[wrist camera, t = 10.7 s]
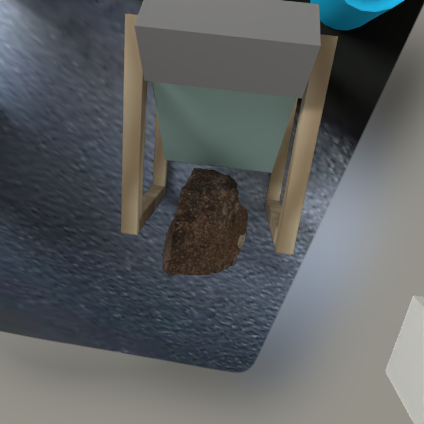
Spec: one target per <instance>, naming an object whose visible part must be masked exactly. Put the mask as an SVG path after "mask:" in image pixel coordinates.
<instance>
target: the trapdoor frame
mask: <svg viewBox="0 0 424 424" xmlns="http://www.w3.org/2000/svg"><path fill="white" fill-rule="evenodd" d="M137 17H138V15H133V14H125V49H124V101H123V153H122V205H121V233H126V234H134V235H137V234H138V233H139V231H140V230H141V228H142V227H143V226H144V224H145V223H146V222H147V220H148V219H149V217H150V216H151V215H152V213H153V212H154V211H155V209H156V208H157V206H158V205H159V204H160V202H161V201H162V200H163V198H164V197H165V195H166V179H167V164H168V160H165V158H164V152H163V146H162V139H161V133H160V127H159V121H158V115H157V113H156V133H155V153H154V172H153V185H152V186H151V187H150V188H149V190H148V191H147V192H146V193H145V194H144V195H143V172H144V147H145V123H146V98H147V81H144V75H143V70H142V65H141V59H140V54H139V48H138V43H137V38H136V32H135V27H134V25H135V22H136V20H137ZM337 39H338V36H329V35H320V41H321V46H320V49H319V52H318V55H317V58H316V60H315V63H314V66H313V69H312V72H311V75H310V77H309V80H308V83H307V86H306V89H305V91H304V94H303V97H302V101H301V106H300V112H299V117H298V123H297V128H296V133H295V139H294V144H293V150H292V155H291V160H290V166H289V171H288V176H287V182H286V187H285V193H284V198H283V203H282V206H281V203H280V201H279V199H280V194H281V188H282V183H283V177H284V172H285V166H286V161H287V155H288V150H289V144H290V139H291V133H292V128H293V123H294V117H295V112H296V106H297V101H298V98H296V101H295V104H294V107H293V110H292V113H291V116H290V119H289V122H288V125H287V128H286V131H285V134H284V137H283V140H282V143H281V146H280V149H279V152H278V155H277V158H276V161H275V164H274V167H273V170H272V173H271V174H270V180H269V186H268V192H267V198H266V204H265V211H266V215H267V218H268V222H269V226H270V230H271V234H272V238H273V242H274V245H275V249H276V253H283V254H291V255H293V251H294V246H295V241H296V236H297V232H298V227H299V222H300V217H301V212H302V207H303V203H304V198H305V193H306V188H307V183H308V179H309V174H310V169H311V164H312V159H313V154H314V150H315V145H316V140H317V135H318V130H319V126H320V121H321V116H322V111H323V106H324V101H325V97H326V92H327V87H328V82H329V77H330V73H331V68H332V63H333V58H334V53H335V48H336V44H337Z"/></svg>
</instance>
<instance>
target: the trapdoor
mask: <svg viewBox="0 0 424 424" xmlns="http://www.w3.org/2000/svg"><path fill="white" fill-rule="evenodd" d="M134 27H135V32H136V38H137V43H138V48H139V54H140V59H141V65H142V70H143V75H144V81H152V84H153V90H154V96H155V102H156V108H157V115H158V121H159V127H160V133H161V139H162V146H163V152H164V158H165V160H169V161H177V162H185V163H194V164H202V165H210V166H219V167H227V168H235V169H244V170H252V171H260V172H268V173H272V170H273V167H274V164H275V161H276V158H277V155H278V152H279V149H280V146H281V143H282V140H283V137H284V134H285V131H286V128H287V125H288V122H289V119H290V116H291V113H292V110H293V107H294V104H295V101H296V98H302V97H303V94H304V91H305V89H306V86H307V83H308V80H309V77H310V75H311V72H312V69H313V66H314V63H315V60H316V58H317V55H318V52H319V49H320V46H321V41H320V14H319V4H310V3H301V2H291V1H282V0H144V1H143V3H142V6H141V9H140V11H139V14H138V17H137V20H136V22H135V25H134Z"/></svg>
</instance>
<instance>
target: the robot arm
mask: <svg viewBox="0 0 424 424" xmlns="http://www.w3.org/2000/svg"><path fill="white" fill-rule="evenodd" d="M385 372H386V374H387V375H388V377H389V379H390V381H391V383H392V385H393V386H394V388H395V390H396V392H397V394H398V396H399V397H400V399H401V401H402V403H403V405H404V407H405V409H406V410H407V412H408V414H409V416H410V418H411V420H412V421H413V423H414V424H424V297H419V296H413V298H412V301H411V303H410V306H409V309H408V311H407V314H406V317H405V320H404V322H403V325H402V328H401V330H400V333H399V336H398V338H397V341H396V344H395V346H394V349H393V352H392V355H391V357H390V360H389V363H388V365H387V368H386V371H385Z"/></svg>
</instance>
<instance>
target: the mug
mask: <svg viewBox="0 0 424 424" xmlns="http://www.w3.org/2000/svg"><path fill="white" fill-rule="evenodd" d="M403 1H404V0H310V2H311V4H319V14H320V20H321V21H322V22H323V23H324V24H325V25H327V26H329V27H331V28H333V29H337V30H350V29H354V28H358V27H360V26H362V25H364V24H365V23H367V22H369V21H370V20H372V19H374V18H376V17H377V16H379V15H381V14H383V13H384V12H386V11H388V10H389V9H391V8H393V7H394V6H396V5H398V4H399V3H401V2H403Z"/></svg>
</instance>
